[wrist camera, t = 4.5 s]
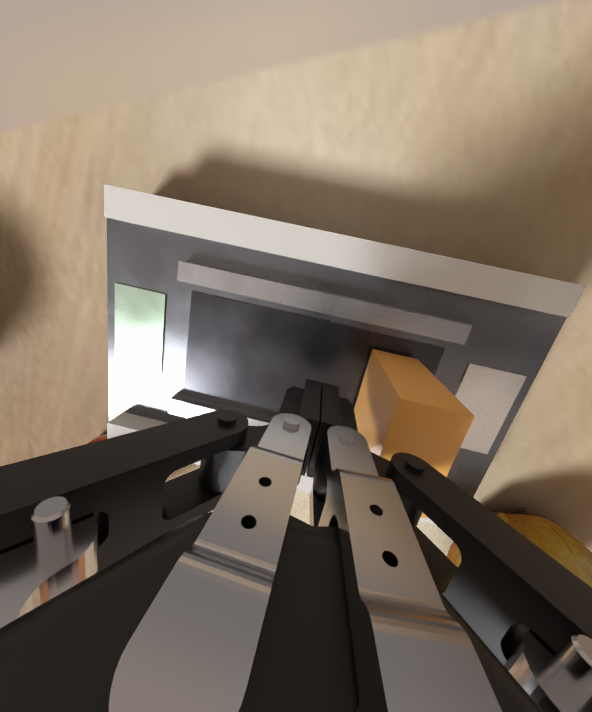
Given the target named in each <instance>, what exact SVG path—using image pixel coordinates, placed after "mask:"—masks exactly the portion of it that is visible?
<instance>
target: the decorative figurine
mask: <svg viewBox="0 0 592 712" xmlns="http://www.w3.org/2000/svg"><path fill="white" fill-rule="evenodd" d="M494 514H495V515H497V516H498V517H499V518H501V519H502V520H503V521H505V522H506V523H507V524H509V525H510V526H511V527H512V528H514V529H515V530H516V531H518V532H519V533H520V534H522V535H523V536H524V537H526V538H527V539H528V540H530V541H531V542H532V543H534V544H535V545H536V546H537V547H539V548H540V549H541V550H543V551H544V552H545V553H547V554H548V555H549V556H551V557H552V558H553V559H555V560H556V561H557V562H559V563H560V564H561V565H563V566H564V567H565V568H566V569H568V570H569V571H570V572H572V573H573V574H574V575H576V576H577V577H578V578H580V579H581V580H582V581H584V582H585V583H586V584H588V585H589V586H590V587H591V588H592V553H591V552H590V551H589V550H588V549H587V548H586V547H585V546H583V545H582V544H581V543H579V542H578V541H577V540H576V539H574V538H573V537H572V536H571V535H570V534H568V533H567V532H566V531H565V530H564V529H563V528H562V527H560V526H559V525H557V524H556V523H554V522H553V521H551V520H548V519H546V518H543V517H540V516H536V515H531V514H530V513H529V511H528V509H525V508H524V509H520V510H518V511H516V512H514V513H510V514H506V513H503V512H495V513H494ZM447 558H448V559H450V560H451V561H452V562H453V563H454V564H455V565H456V566H457V567H459V565H460V563H461V553H460V550H459V548H458V547H457V545H456V544H455V542H453V544H452V545H451V547H450V549H449V552H448V556H447Z"/></svg>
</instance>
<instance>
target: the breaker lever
mask: <svg viewBox="0 0 592 712" xmlns="http://www.w3.org/2000/svg"><path fill="white" fill-rule="evenodd" d="M354 413H355V418H356V424H357V429H358V432H359V433H360V434H362V435H363V436H364V437H365V439H366V441H367V443H368V446H369V449H370V451H371V452H373V453H374V454H376V455H378V456H380V457H383V458H385V459H387V460H389V461H390V460H391V457H392V455H393V454H395V453H399V452H403V453H409V454H412V455H415V456H417V457H419V458H421V459H422V460H424V461H425V462H427V463H428V464H429V465H431V466H432V467H433V468H435V469H436V470H437V471H439V472H440V473H441V474H443V475H444V476H445V477H447V475H448V473H449V470H450V468H451V466H452V464H453V462H454V460H455V458H456V456H457V453H458V451H459V449H460V447H461V445H462V443H463V441H464V438H465V436H466V434H467V432H468V430H469V428H470V426H471V423H472V421H473V419H474V417H475V416H474V415H473V414H472V413H471V412H470V411H469V410H468V409H467V408H466V407H465V406H464V405H463V404H462V403H461V402H460V401H459V400H458V399H457V398H456V397H455V396H454V395H453V394H452V393H451V392H450V391H449V390H448V389H447V388H446V387H445V386H444V385H443V384H442V383H441V382H440V381H439V380H438V379H437V378H436V377H435V376H434V375H433V374H432V373H431V372H430V371H429V370H428V369H427V368H426V367H425V366H424V365H423V364H422V363H421V362H420V361H419V360H418V359H415V358H411V357H406V356H402V355H397V354H393V353H389V352H384V351H380V350H376V349H372V352H371V355H370V359H369V362H368V365H367V368H366V372H365V375H364V378H363V381H362V385H361V388H360V391H359V394H358V398H357V401H356V404H355V407H354ZM421 517H422V518H426V519H427V518H428V517H427V516H426V515H425V514H424V513H422V515H421Z"/></svg>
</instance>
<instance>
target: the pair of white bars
mask: <svg viewBox="0 0 592 712" xmlns="http://www.w3.org/2000/svg"><path fill="white" fill-rule="evenodd" d="M104 217H107V218H111V219H115V220H119V221H123V222H128V223H132V224H137V225H142V226H146V227H151V228H156V229H160V230H165V231H169V232H174V233H179V234H183V235H188V236H193V237H197V238H202V239H206V240H211V241H216V242H220V243H225V244H230V245H234V246H239V247H243V248H248V249H253V250H257V251H262V252H267V253H271V254H276V255H280V256H285V257H290V258H294V259H299V260H304V261H308V262H313V263H317V264H322V265H327V266H331V267H336V268H341V269H345V270H350V271H354V272H359V273H364V274H368V275H373V276H378V277H382V278H387V279H391V280H396V281H401V282H405V283H410V284H415V285H419V286H424V287H428V288H433V289H438V290H442V291H447V292H451V293H456V294H461V295H465V296H470V297H475V298H479V299H484V300H488V301H493V302H498V303H502V304H507V305H512V306H516V307H521V308H525V309H530V310H535V311H539V312H544V313H549V314H554V315H559V316H564V317H570V316H571V314H572V312H573V310H574V308H575V306H576V304H577V302H578V300H579V298H580V296H581V295H582V293H583V291H584V289H585V287H586V286H584V285H580V284H575V283H570V282H565V281H561V280H556V279H551V278H546V277H542V276H537V275H532V274H527V273H523V272H518V271H513V270H508V269H504V268H499V267H494V266H489V265H485V264H480V263H475V262H470V261H466V260H461V259H456V258H451V257H447V256H442V255H437V254H432V253H428V252H423V251H418V250H413V249H409V248H404V247H399V246H394V245H390V244H385V243H380V242H375V241H371V240H366V239H361V238H356V237H352V236H347V235H342V234H337V233H333V232H328V231H323V230H318V229H314V228H309V227H304V226H299V225H295V224H290V223H285V222H280V221H276V220H271V219H266V218H261V217H257V216H252V215H247V214H243V213H238V212H233V211H228V210H224V209H219V208H214V207H209V206H205V205H200V204H195V203H190V202H186V201H181V200H176V199H171V198H167V197H162V196H157V195H152V194H148V193H143V192H138V191H133V190H129V189H124V188H119V187H114V186H110V185H105V184H104ZM166 423H167V422H163V421H159V420H155V419H150V418H146V417H142V416H138V415H134V414H130V413H126V412H122V413H121V414H119V415H118V416H116V417H115V418H113V419H112V420H110V421H109V422H107V439H109V438H112V437H116V436H120V435H124V434H128V433H132V432H135V431H139V430H143V429H147V428H151V427H155V426H158V425H162V424H166ZM200 463H201V460H200V461H198V462H195V463H193V464H196V465H200ZM307 467H308V466H307ZM312 485H313V478H311V477H307V469H306V473H305V476H303V475H301V479H300V482H299V484H298V485H297V488H296V490H298V491H302V492H306V493H310V492H311V488H312ZM419 521H420V522H424V523H428V524H432V525H436V524H435V523H434V522H432V521H431V520H430V519H429V518H427V519H426V518H422V517H420V519H419ZM436 526H437V525H436Z"/></svg>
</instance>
